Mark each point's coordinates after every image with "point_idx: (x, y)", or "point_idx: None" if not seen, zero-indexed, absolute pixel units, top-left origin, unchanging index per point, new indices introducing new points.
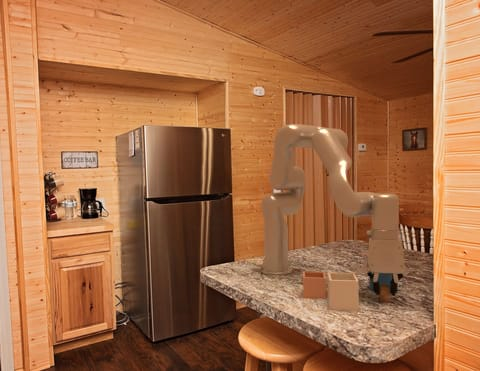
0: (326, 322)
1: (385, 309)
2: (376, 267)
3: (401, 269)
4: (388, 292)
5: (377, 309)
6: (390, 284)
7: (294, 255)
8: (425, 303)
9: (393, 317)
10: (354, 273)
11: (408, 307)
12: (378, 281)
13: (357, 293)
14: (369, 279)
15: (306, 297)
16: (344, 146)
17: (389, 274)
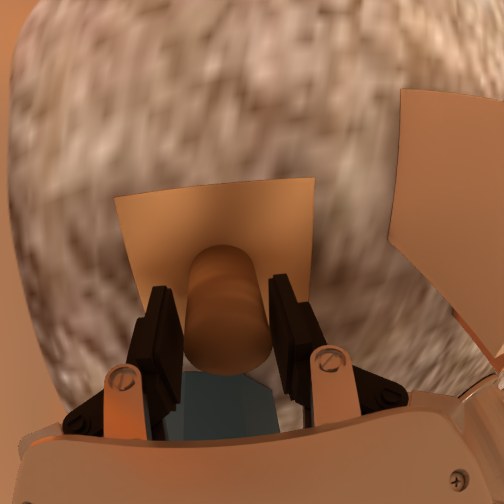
0: (497, 12)
1: (231, 159)
2: (403, 478)
3: (33, 473)
4: (198, 298)
5: (284, 149)
6: (180, 379)
7: None
8: (35, 301)
9: (201, 33)
10: (496, 355)
11: (92, 230)
12: (244, 423)
13: (491, 99)
14: None
15: None
16: None
17: None
